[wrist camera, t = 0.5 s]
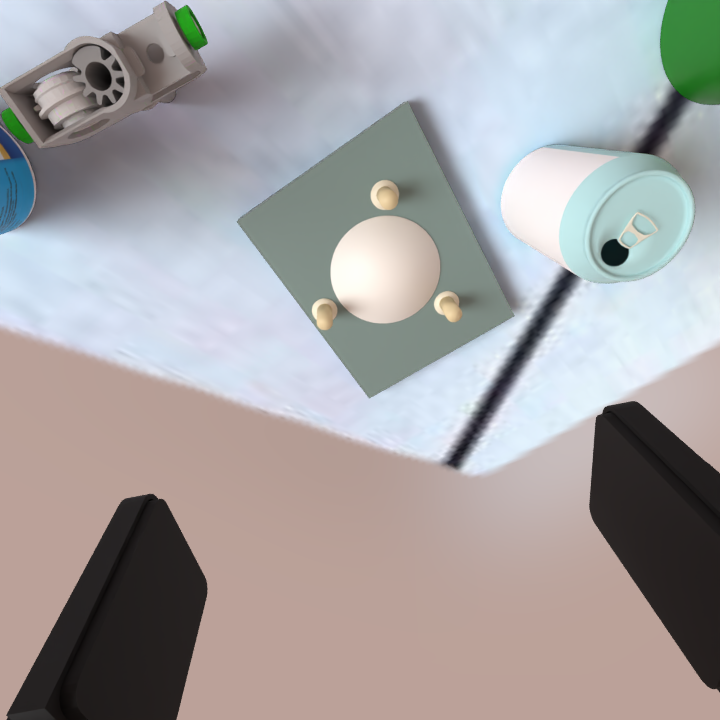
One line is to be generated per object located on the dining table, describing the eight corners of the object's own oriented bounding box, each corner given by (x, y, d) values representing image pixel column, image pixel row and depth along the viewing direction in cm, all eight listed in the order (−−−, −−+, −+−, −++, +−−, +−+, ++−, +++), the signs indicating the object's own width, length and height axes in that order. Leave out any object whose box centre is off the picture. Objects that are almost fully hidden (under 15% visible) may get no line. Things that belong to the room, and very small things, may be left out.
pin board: (404, 102, 31) (414, 99, 27) (507, 309, 39) (526, 328, 35) (240, 217, 34) (230, 229, 30) (367, 389, 41) (371, 414, 38)
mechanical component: (244, 76, 30) (210, 57, 21) (112, 147, 31) (27, 159, 22) (219, 24, 28) (171, -19, 19) (82, 102, 30) (-21, 94, 21)
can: (581, 238, 36) (688, 287, 26) (494, 246, 36) (565, 298, 25) (597, 140, 33) (727, 150, 22) (501, 148, 33) (586, 161, 22)
